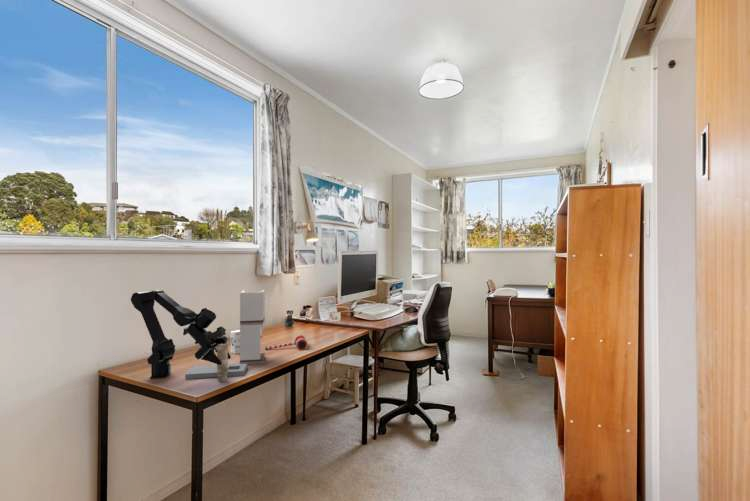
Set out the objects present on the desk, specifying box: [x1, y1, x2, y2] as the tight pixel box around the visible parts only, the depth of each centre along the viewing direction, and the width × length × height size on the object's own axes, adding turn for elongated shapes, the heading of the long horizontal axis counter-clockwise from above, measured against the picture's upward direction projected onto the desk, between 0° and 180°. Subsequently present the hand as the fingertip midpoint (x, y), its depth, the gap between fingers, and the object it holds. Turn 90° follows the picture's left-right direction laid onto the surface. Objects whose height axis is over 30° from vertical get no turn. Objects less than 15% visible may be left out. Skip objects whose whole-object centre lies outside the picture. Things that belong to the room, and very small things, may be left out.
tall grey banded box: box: [239, 289, 266, 365], centre depth 186 cm, size 11×11×35 cm
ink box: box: [230, 329, 240, 355], centre depth 202 cm, size 9×5×12 cm, turn 138°
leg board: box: [184, 363, 248, 380], centre depth 167 cm, size 24×11×2 cm, turn 101°
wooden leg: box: [216, 343, 229, 382], centre depth 158 cm, size 4×4×15 cm
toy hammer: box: [264, 334, 309, 351], centre depth 210 cm, size 23×12×6 cm, turn 108°
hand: (225, 361), depth 158 cm, fingers open, 8 cm apart
